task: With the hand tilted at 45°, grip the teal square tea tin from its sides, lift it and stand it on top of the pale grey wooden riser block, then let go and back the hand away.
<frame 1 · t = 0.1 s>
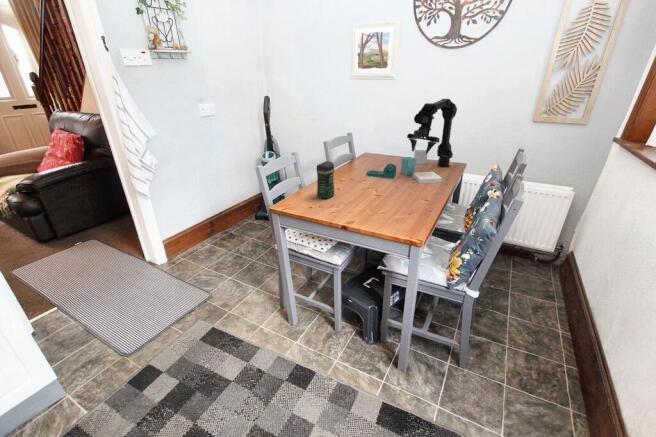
hand: (419, 152, 182), 15 cm above the table, tool pointing down, fingers open, 9 cm apart
small box: (419, 163, 216), on the table
riser block: (426, 180, 185), on the table
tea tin: (407, 173, 196), on the table
coffee jar: (326, 196, 163), on the table
bracket: (380, 176, 193), on the table
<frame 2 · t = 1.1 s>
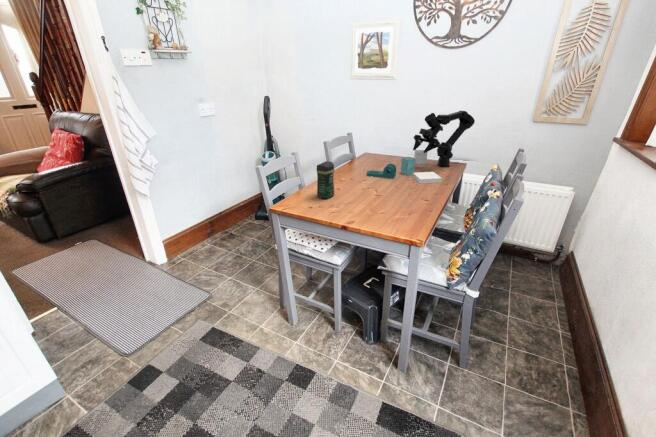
hand: (418, 151, 193), 13 cm above the table, tool tilted 45°, fingers open, 9 cm apart
nothing on the table moved.
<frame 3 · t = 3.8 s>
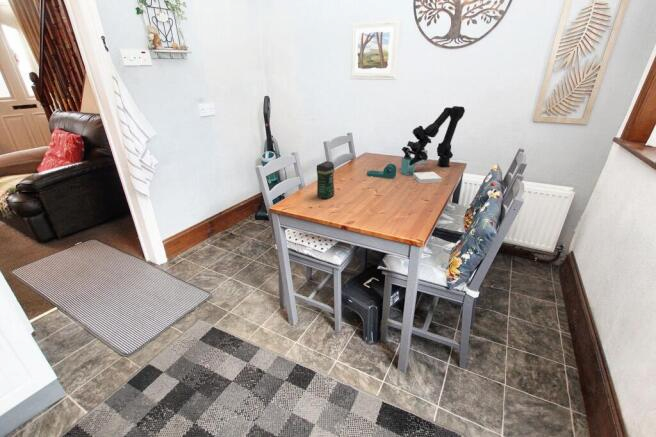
hand: (406, 163, 192), 7 cm above the table, tool tilted 45°, fingers closed on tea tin, 6 cm apart
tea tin: (407, 173, 196), on the table, touching gripper
everything else where it was.
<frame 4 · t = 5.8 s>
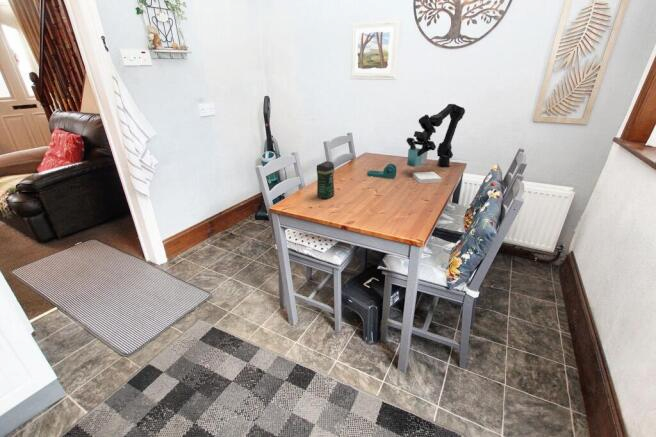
hand: (413, 155, 185), 13 cm above the table, tool tilted 45°, fingers closed on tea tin, 6 cm apart
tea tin: (414, 165, 188), point 7 cm above the table, touching gripper
everything else where it was.
when the fingers open (10 cm above the table, at t = 7.8 s): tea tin drops 1 cm, point 2 cm above the table.
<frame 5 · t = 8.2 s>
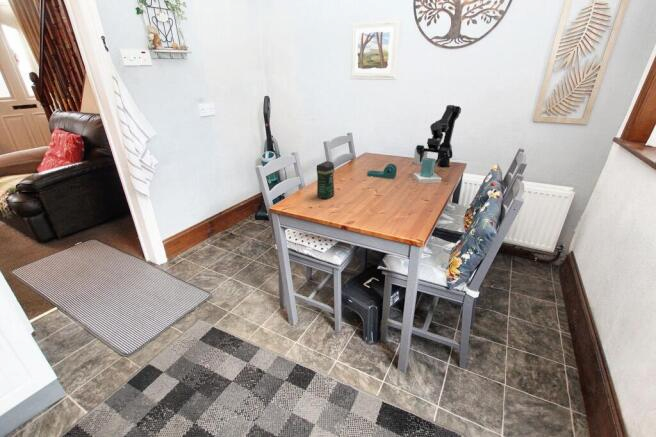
hand: (427, 162, 179), 11 cm above the table, tool tilted 45°, fingers open, 9 cm apart
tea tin: (426, 175, 183), point 2 cm above the table
everything else where it was.
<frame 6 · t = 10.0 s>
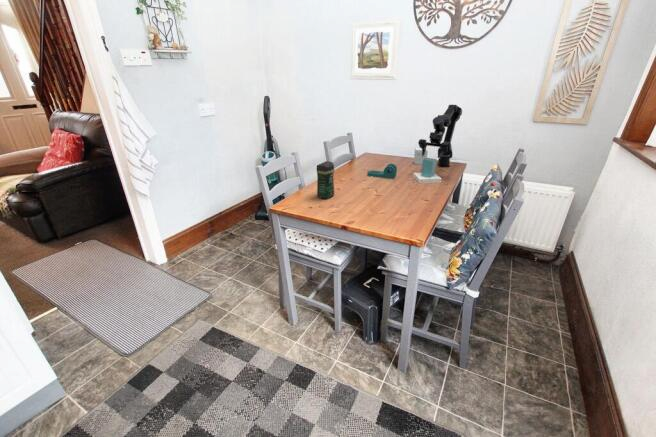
hand: (430, 156, 180), 14 cm above the table, tool tilted 45°, fingers open, 9 cm apart
riser block: (426, 180, 185), on the table, touching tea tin
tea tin: (427, 175, 183), point 2 cm above the table, touching riser block
everything else where it was.
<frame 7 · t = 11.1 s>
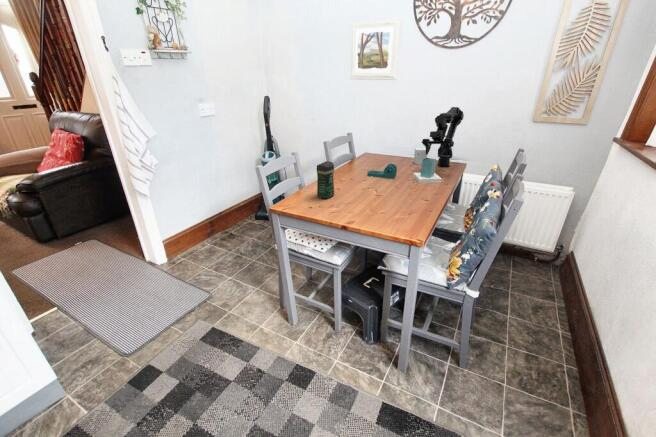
hand: (433, 155, 185), 13 cm above the table, tool tilted 40°, fingers open, 9 cm apart
nothing on the table moved.
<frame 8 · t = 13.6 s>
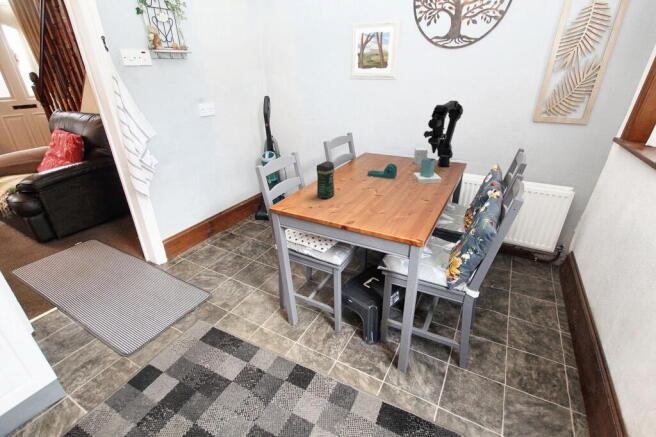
hand: (435, 151, 193), 13 cm above the table, tool pointing down, fingers open, 9 cm apart
nothing on the table moved.
at the end: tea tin inside the target area on the riser block (0.2 cm from its centre), point 3.0 cm above the riser block's base; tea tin tilted 1°; the gripper is holding nothing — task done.
